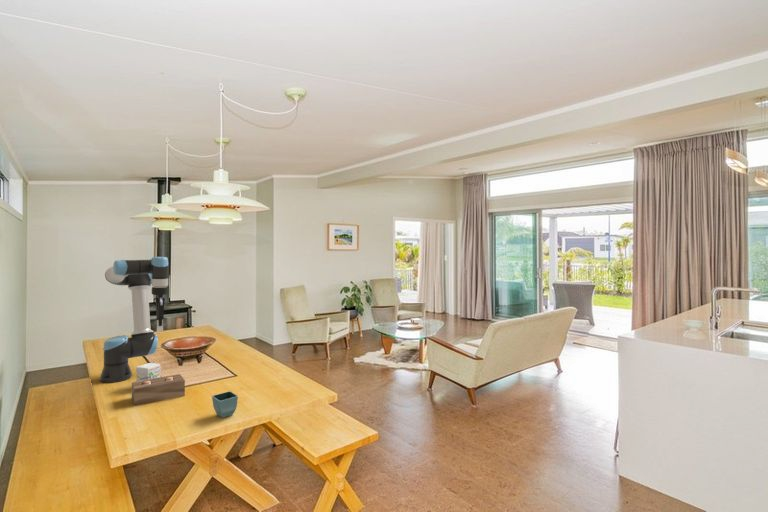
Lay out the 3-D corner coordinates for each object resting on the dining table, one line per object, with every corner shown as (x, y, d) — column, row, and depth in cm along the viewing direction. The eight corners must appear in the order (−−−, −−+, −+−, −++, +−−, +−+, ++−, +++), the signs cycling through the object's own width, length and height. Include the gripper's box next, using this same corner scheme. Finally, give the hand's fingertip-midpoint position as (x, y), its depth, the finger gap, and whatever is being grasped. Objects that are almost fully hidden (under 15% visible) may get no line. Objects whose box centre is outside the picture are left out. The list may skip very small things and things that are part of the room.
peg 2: (165, 393, 210) (165, 377, 209) (172, 391, 212) (172, 376, 211) (166, 394, 207) (166, 379, 207) (173, 393, 209) (173, 378, 209)
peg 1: (143, 397, 204) (142, 381, 203) (150, 395, 206) (150, 380, 205) (143, 399, 201) (143, 383, 201) (151, 397, 203) (151, 382, 203)
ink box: (147, 390, 215) (147, 368, 214) (135, 388, 218) (135, 366, 217) (161, 385, 223) (161, 364, 223) (149, 383, 226) (149, 362, 225)
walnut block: (131, 397, 205) (131, 382, 204) (179, 388, 218) (179, 374, 218) (134, 405, 195) (134, 389, 195) (184, 395, 208) (184, 380, 208)
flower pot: (211, 414, 187) (211, 395, 186) (230, 409, 193) (230, 390, 192) (219, 421, 180) (219, 401, 180) (238, 415, 186) (238, 396, 186)
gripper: (150, 285, 214) (150, 329, 216) (153, 288, 204) (153, 335, 205) (166, 284, 219) (166, 328, 220) (169, 287, 208) (169, 333, 209)
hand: (160, 331), depth 212 cm, fingers closed
